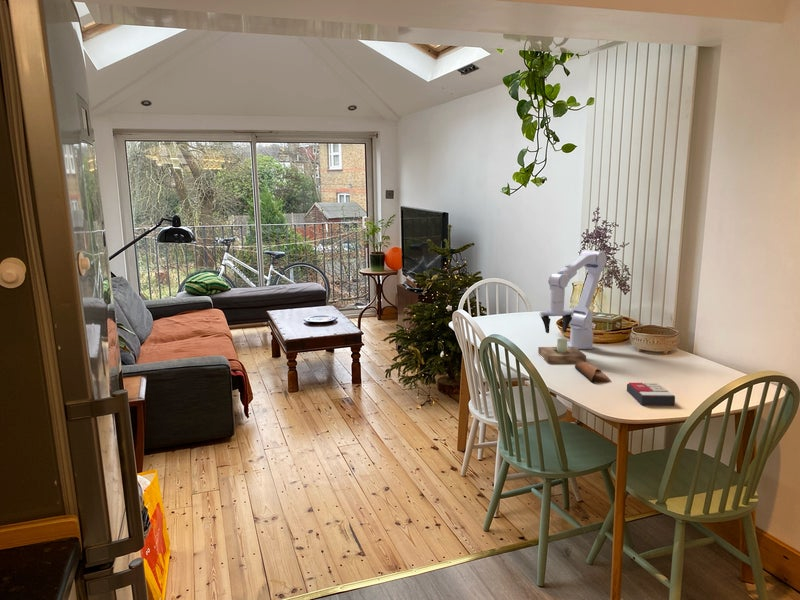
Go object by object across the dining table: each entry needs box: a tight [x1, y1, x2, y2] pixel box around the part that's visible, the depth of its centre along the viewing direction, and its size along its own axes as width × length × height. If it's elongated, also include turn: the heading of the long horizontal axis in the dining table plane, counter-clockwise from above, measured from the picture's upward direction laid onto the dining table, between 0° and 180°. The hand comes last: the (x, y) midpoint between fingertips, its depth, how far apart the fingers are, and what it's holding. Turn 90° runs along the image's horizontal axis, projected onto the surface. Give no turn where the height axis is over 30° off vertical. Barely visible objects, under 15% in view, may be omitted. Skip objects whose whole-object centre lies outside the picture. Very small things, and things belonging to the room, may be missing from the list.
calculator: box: [626, 382, 676, 407], centre depth 209 cm, size 11×4×15 cm
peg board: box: [537, 346, 587, 364], centre depth 255 cm, size 16×14×3 cm
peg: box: [556, 338, 568, 353], centre depth 255 cm, size 4×4×8 cm
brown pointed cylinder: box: [574, 361, 612, 384], centre depth 233 cm, size 18×7×7 cm, turn 5°
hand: (555, 332), depth 261 cm, fingers open, 7 cm apart
